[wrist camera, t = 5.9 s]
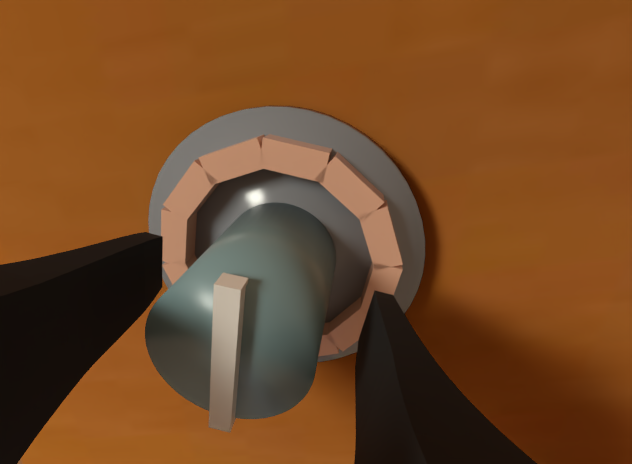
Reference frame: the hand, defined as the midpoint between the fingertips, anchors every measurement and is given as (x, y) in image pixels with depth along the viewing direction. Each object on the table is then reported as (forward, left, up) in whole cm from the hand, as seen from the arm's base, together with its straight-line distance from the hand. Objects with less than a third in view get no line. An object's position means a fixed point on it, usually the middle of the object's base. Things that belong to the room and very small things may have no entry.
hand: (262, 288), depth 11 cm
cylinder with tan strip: (0, 0, -2) cm, 2 cm away
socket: (0, 0, -3) cm, 3 cm away
